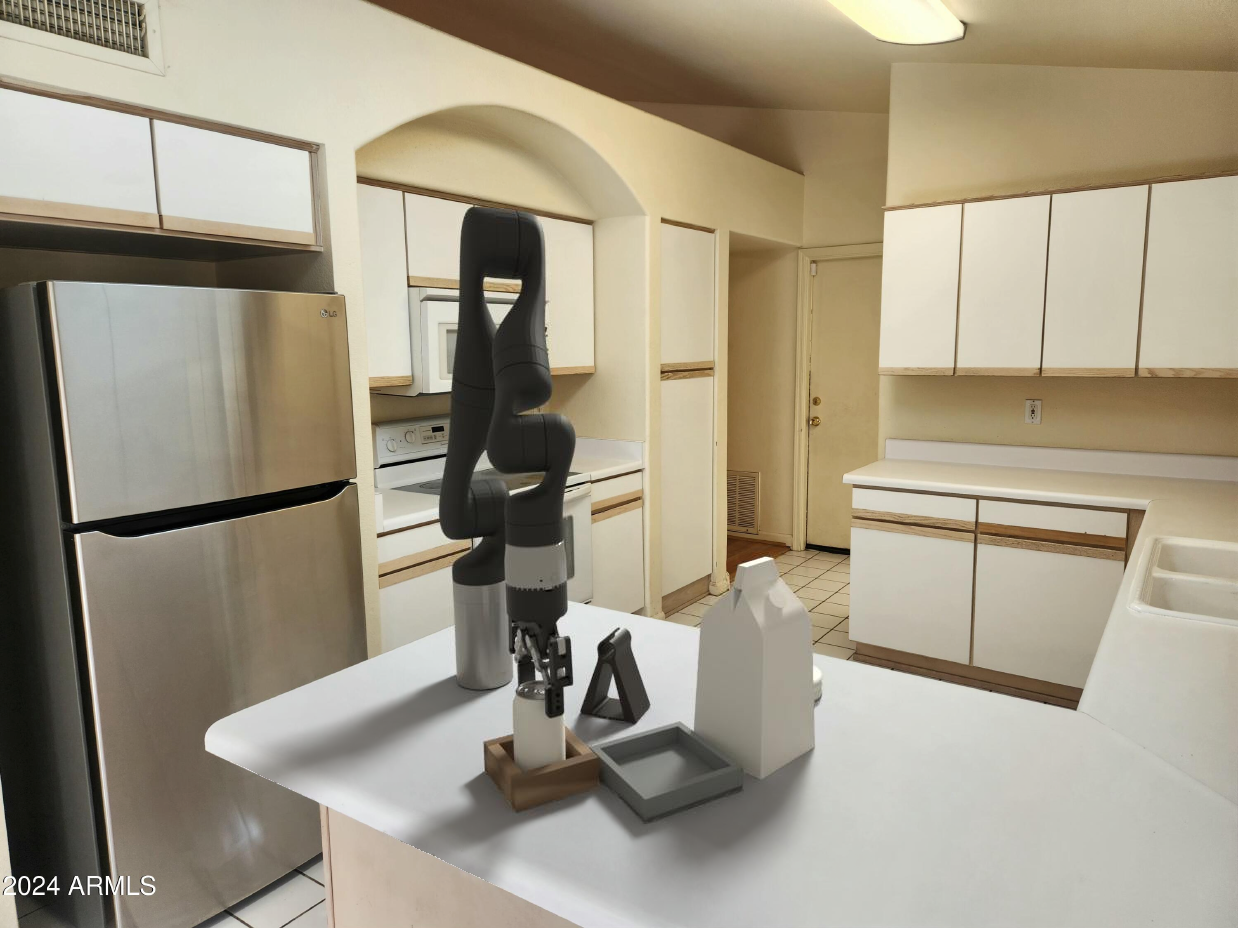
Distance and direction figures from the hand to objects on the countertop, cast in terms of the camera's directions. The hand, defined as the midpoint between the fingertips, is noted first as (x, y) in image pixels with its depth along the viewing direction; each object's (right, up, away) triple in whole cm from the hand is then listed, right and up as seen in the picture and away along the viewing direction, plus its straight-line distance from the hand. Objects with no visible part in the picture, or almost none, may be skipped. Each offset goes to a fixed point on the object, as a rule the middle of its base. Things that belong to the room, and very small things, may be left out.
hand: (540, 702), depth 101 cm
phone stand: (+9, -7, +21) cm, 24 cm away
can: (0, -10, +2) cm, 11 cm away
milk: (+28, -9, +9) cm, 31 cm away
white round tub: (+37, -6, +27) cm, 46 cm away
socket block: (0, -10, +2) cm, 10 cm away
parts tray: (+16, -10, +1) cm, 19 cm away
